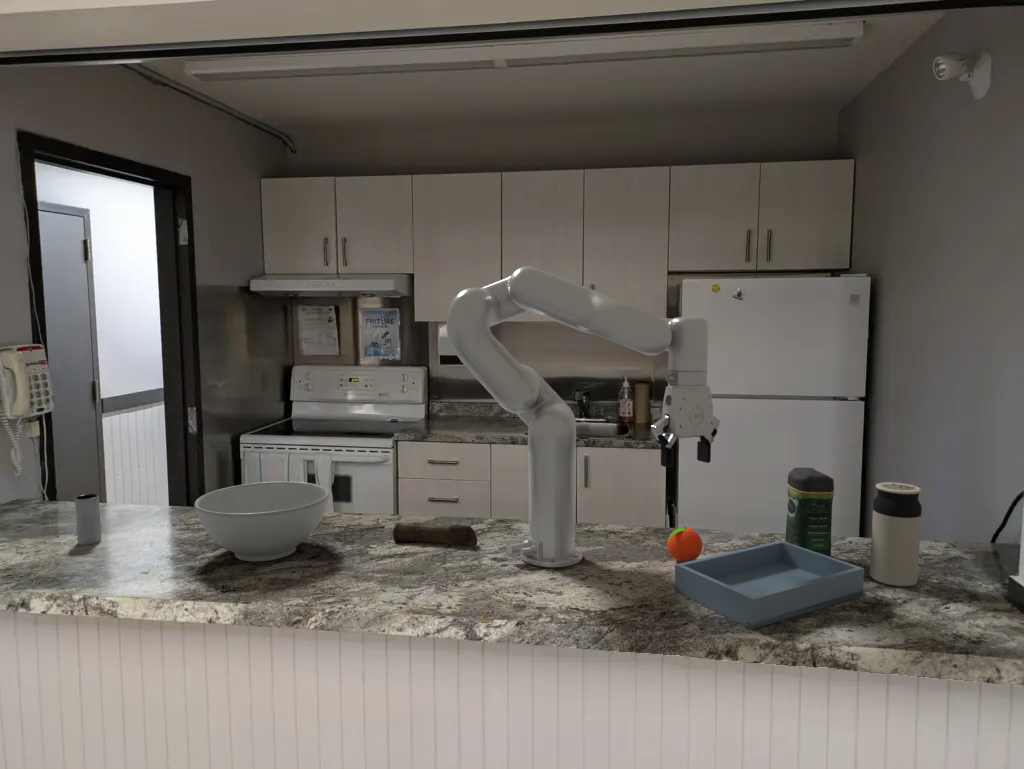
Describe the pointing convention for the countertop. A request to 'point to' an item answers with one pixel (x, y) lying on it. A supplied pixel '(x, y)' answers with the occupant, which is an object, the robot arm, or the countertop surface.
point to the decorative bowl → (262, 517)
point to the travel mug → (896, 534)
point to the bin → (768, 582)
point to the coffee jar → (809, 510)
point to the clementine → (684, 544)
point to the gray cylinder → (88, 519)
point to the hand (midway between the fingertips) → (685, 464)
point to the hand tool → (436, 534)
